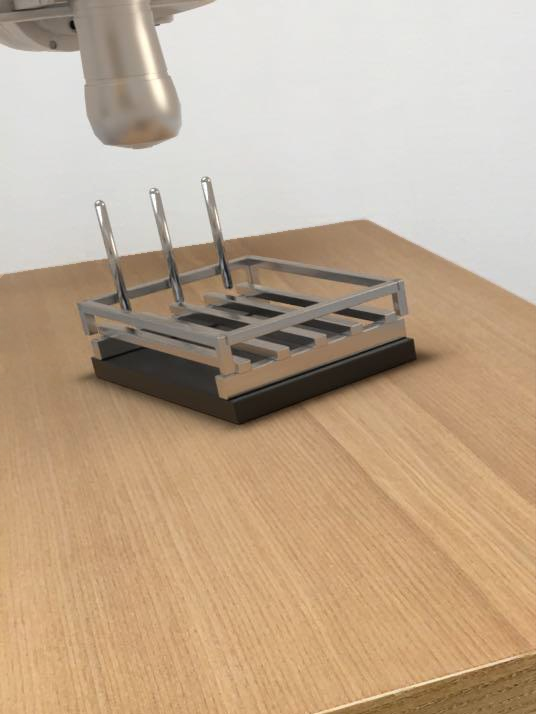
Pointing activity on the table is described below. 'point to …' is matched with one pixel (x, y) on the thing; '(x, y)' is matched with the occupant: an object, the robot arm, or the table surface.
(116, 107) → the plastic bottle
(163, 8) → the robot arm
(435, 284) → the table surface
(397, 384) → the table surface
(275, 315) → the dish rack
